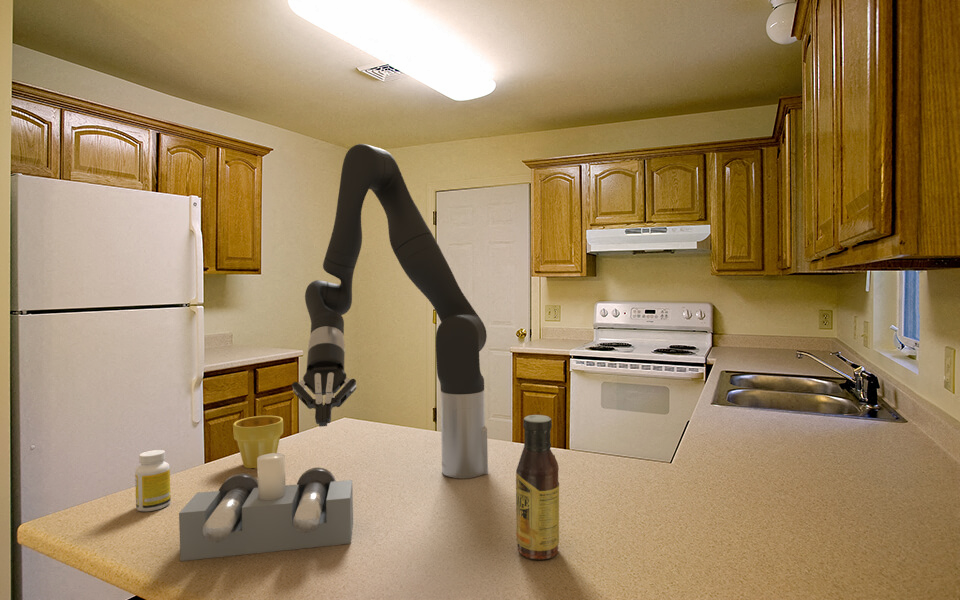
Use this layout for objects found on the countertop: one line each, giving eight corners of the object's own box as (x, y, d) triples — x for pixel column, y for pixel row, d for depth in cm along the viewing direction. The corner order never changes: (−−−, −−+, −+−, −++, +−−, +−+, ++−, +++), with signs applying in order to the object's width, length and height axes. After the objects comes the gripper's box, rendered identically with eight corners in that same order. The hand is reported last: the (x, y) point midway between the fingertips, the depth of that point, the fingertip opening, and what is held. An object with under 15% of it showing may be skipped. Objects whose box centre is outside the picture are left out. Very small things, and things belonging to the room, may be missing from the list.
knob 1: (262, 509, 90) (261, 471, 90) (241, 549, 76) (240, 504, 76) (220, 513, 89) (219, 474, 88) (192, 554, 75) (191, 508, 75)
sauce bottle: (513, 543, 82) (511, 412, 81) (554, 540, 82) (552, 411, 82) (520, 565, 75) (518, 423, 75) (564, 562, 76) (562, 421, 75)
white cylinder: (287, 489, 86) (286, 452, 86) (283, 498, 82) (282, 459, 82) (261, 491, 86) (260, 454, 85) (255, 501, 82) (254, 461, 82)
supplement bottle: (177, 502, 100) (176, 449, 100) (151, 514, 95) (149, 458, 95) (155, 499, 102) (154, 447, 101) (128, 510, 97) (127, 456, 96)
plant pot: (266, 472, 115) (265, 427, 115) (223, 470, 117) (222, 425, 117) (292, 457, 126) (291, 416, 125) (253, 455, 128) (252, 414, 127)
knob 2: (336, 503, 92) (335, 466, 92) (329, 540, 78) (328, 496, 78) (297, 506, 91) (296, 469, 91) (283, 545, 77) (282, 500, 77)
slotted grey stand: (353, 521, 90) (352, 479, 90) (351, 543, 82) (350, 498, 82) (198, 536, 86) (197, 492, 86) (180, 561, 78) (178, 513, 78)
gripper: (291, 343, 111) (283, 416, 99) (357, 340, 113) (357, 411, 101) (295, 365, 116) (289, 437, 104) (358, 362, 118) (359, 432, 107)
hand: (323, 424), depth 103 cm, fingers closed
